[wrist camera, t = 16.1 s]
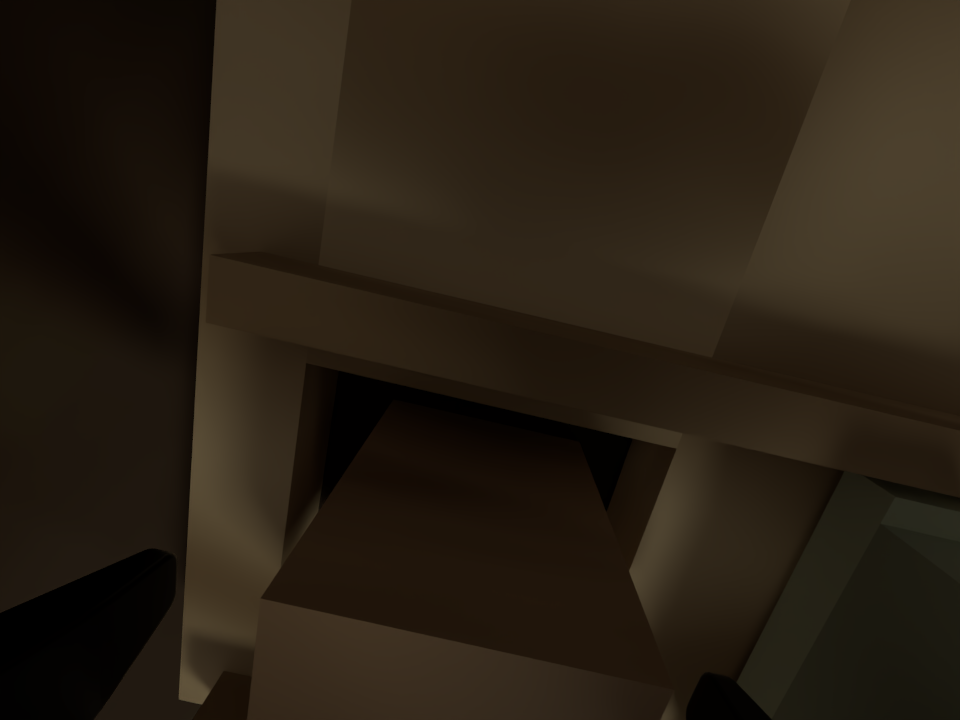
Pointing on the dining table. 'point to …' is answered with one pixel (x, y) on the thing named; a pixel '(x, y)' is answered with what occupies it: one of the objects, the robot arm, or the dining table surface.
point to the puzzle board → (580, 274)
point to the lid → (867, 612)
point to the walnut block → (457, 588)
